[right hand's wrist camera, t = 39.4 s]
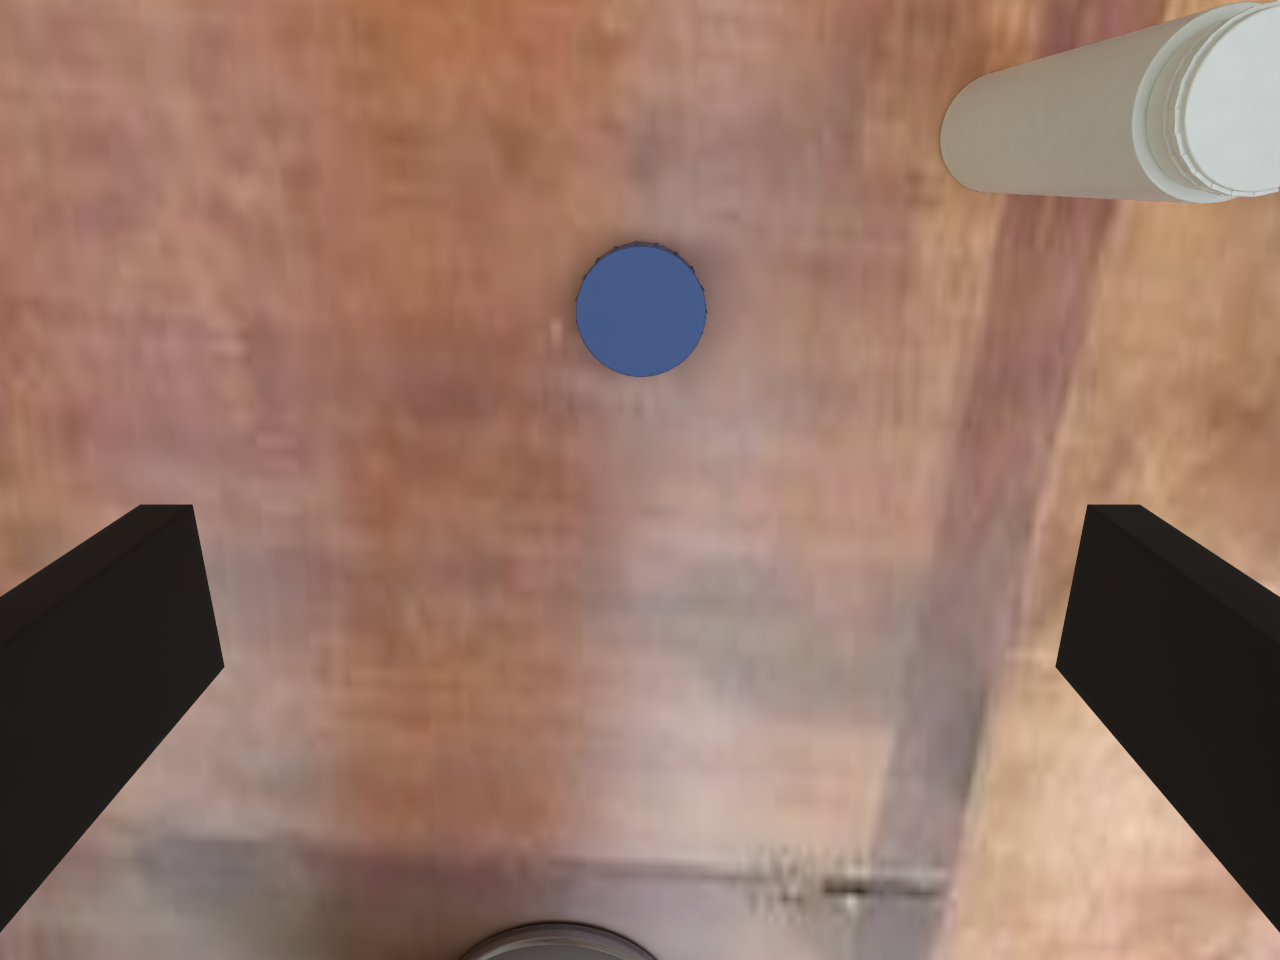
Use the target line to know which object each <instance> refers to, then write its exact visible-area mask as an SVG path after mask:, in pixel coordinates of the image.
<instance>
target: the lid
mask: <svg viewBox="0 0 1280 960" xmlns="http://www.w3.org/2000/svg"><path fill="white" fill-rule="evenodd" d="M694 272H695V271H694V269H693V267H692V266H691V267H690V266H689V265H688V264H687V263H686V262H685V261H684V260H683V259H682V258H681V257H680V256H679V254H678V252H675V253H674V252H673V251H671V250H669V249H667V248H665V247H662V246H659V243H656V244H651V243H637V241H635V243H631V244H626V245H622V246H620V247H616V246H615V247H614V249H613V250H611V251H609V252H608V253H606V254H605V255H604V256H602V257H601V258H600V259H599V258H597V259H596V261H595V264H594V265H593V266H592V268H591V269H590V270H589V272H588V274H587V275H584V277H583V279H582V281H583V283H582V286H581V288H580V291H579V294H578V296H577V298H576V302H577V305H576V317H577V320H576V323H577V325H578V328H579V332H580V335H581V337H582V340H583V342H584V343H585V345H586V347H587V348H588V350H589V351H590V352H591V354H592V355H593V356H594V357H595V358H596V359H597V360H598V361H599V362H601V363H602V364H603V365H605V366H606V367H608V368H610V369H611V370H613V371H616V372H618V373H621V374H624V375H629V376H635V377H646V376H653V375H658V374H661V373H664V372H666V371H669V370H671V369H672V368H674V367H676V366H677V365H679V364H680V363H682V362H683V361H684V360H685V359H686V358H687V357H688V356H689V355H690V354H691V353H692V351H693V350H694V348H695V347H696V345H697V344H698V342H699V339H700V337H701V335H702V334H703V329H704V324H705V319H706V313H707V310H706V305H705V298H704V294H703V292H704V289H703V287H702V285H700V283H699V281H698V279H697V277H696V275H695V274H694Z"/></svg>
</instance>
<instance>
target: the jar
mask: <svg viewBox="0 0 1280 960" xmlns="http://www.w3.org/2000/svg"><path fill="white" fill-rule="evenodd" d="M940 148H941V154H942V157H943V161H944V163H945V165H946V167H947V169H948V171H949V172H950V174H951V175H952V176H953V177H954V178H955V179H956V180H957V181H958V182H959V183H960V184H962V185H963V186H965V187H967V188H969V189H971V190H975V191H978V192H985V193H1004V194H1023V195H1043V196H1062V197H1082V198H1101V199H1121V200H1140V201H1160V202H1179V203H1199V204H1201V203H1217V202H1223V201H1227V200H1230V199H1234V198H1237V197H1239V196H1242V197H1243V196H1244V197H1257V196H1261V195H1266V194H1270V193H1275V192H1278V187H1280V0H1278V1H1274V2H1270V3H1265V4H1264V3H1257V2H1238V3H1232V4H1227V5H1223V6H1220V7H1216V8H1213V9H1209V10H1206V11H1203V12H1199V13H1196V14H1192V15H1189V16H1185V17H1182V18H1178V19H1175V20H1172V21H1168V22H1165V23H1161V24H1158V25H1154V26H1151V27H1147V28H1144V29H1141V30H1137V31H1134V32H1130V33H1127V34H1123V35H1120V36H1116V37H1113V38H1110V39H1106V40H1103V41H1099V42H1096V43H1092V44H1089V45H1085V46H1082V47H1079V48H1075V49H1072V50H1068V51H1065V52H1061V53H1058V54H1054V55H1051V56H1048V57H1044V58H1041V59H1037V60H1034V61H1030V62H1027V63H1023V64H1020V65H1017V66H1013V67H1010V68H1006V69H1003V70H999V71H996V72H992V73H989V74H986V75H983V76H981V77H979V78H977V79H975V80H974V81H972V82H971V83H969V84H968V85H967V86H966V87H964V88H963V89H962V90H961V91H960V92H959V93H958V95H957V96H956V97H955V98H954V100H953V101H952V103H951V104H950V106H949V108H948V110H947V112H946V114H945V117H944V120H943V123H942V127H941V134H940Z"/></svg>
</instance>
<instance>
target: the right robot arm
mask: <svg viewBox="0 0 1280 960" xmlns="http://www.w3.org/2000/svg"><path fill="white" fill-rule="evenodd" d="M223 668H224V662H223V657H222V652H221V647H220V642H219V636H218V631H217V626H216V621H215V616H214V611H213V606H212V601H211V596H210V591H209V586H208V581H207V576H206V571H205V566H204V560H203V555H202V550H201V545H200V540H199V535H198V530H197V525H196V520H195V515H194V510H193V505H139V506H137V507H136V508H134V509H133V510H131V511H130V512H128V513H127V514H125V515H124V516H122V517H121V518H119V519H118V520H116V521H115V522H113V523H112V524H110V525H109V526H107V527H106V528H104V529H103V530H101V531H100V532H98V533H97V534H95V535H94V536H92V537H90V538H89V539H87V540H86V541H84V542H83V543H81V544H80V545H78V546H77V547H75V548H74V549H72V550H71V551H69V552H68V553H66V554H65V555H63V556H62V557H60V558H59V559H57V560H56V561H54V562H53V563H51V564H50V565H48V566H47V567H45V568H44V569H42V570H40V571H39V572H37V573H36V574H34V575H33V576H31V577H30V578H28V579H27V580H25V581H24V582H22V583H21V584H19V585H18V586H16V587H15V588H13V589H12V590H10V591H9V592H7V593H6V594H4V595H3V596H1V597H0V932H1V931H2V930H3V929H4V927H5V926H6V925H7V924H8V923H9V921H10V920H11V919H12V918H13V917H14V916H15V914H16V913H17V912H18V911H19V910H20V908H21V907H22V906H23V905H24V904H25V903H26V901H27V900H28V899H29V898H30V897H31V895H32V894H33V893H34V892H35V891H36V890H37V888H38V887H39V886H40V885H41V884H42V882H43V881H44V880H45V879H46V878H47V876H48V875H49V874H50V873H51V872H52V871H53V869H54V868H55V867H56V866H57V865H58V863H59V862H60V861H61V860H62V859H63V858H64V856H65V855H66V854H67V853H68V852H69V850H70V849H71V848H72V847H73V846H74V845H75V843H76V842H77V841H78V840H79V839H80V837H81V836H82V835H83V834H84V833H85V831H86V830H87V829H88V828H89V827H90V826H91V824H92V823H93V822H94V821H95V820H96V818H97V817H98V816H99V815H100V814H101V813H102V811H103V810H104V809H105V808H106V807H107V805H108V804H109V803H110V802H111V801H112V800H113V798H114V797H115V796H116V795H117V794H118V792H119V791H120V790H121V789H122V788H123V786H124V785H125V784H126V783H127V782H128V781H129V779H130V778H131V777H132V776H133V775H134V773H135V772H136V771H137V770H138V769H139V768H140V766H141V765H142V764H143V763H144V762H145V760H146V759H147V758H148V757H149V756H150V755H151V753H152V752H153V751H154V750H155V749H156V747H157V746H158V745H159V744H160V743H161V741H162V740H163V739H164V738H165V737H166V736H167V734H168V733H169V732H170V731H171V730H172V728H173V727H174V726H175V725H176V724H177V723H178V721H179V720H180V719H181V718H182V717H183V715H184V714H185V713H186V712H187V711H188V710H189V708H190V707H191V706H192V705H193V704H194V702H195V701H196V700H197V699H198V698H199V696H200V695H201V694H202V693H203V692H204V691H205V689H206V688H207V687H208V686H209V685H210V683H211V682H212V681H213V680H214V679H215V678H216V676H217V675H218V674H219V673H220V672H221V670H222V669H223ZM1056 668H1057V669H1058V670H1059V672H1060V673H1061V674H1062V675H1063V676H1064V678H1065V679H1066V680H1067V681H1068V682H1069V683H1070V685H1071V686H1072V687H1073V688H1074V689H1075V691H1076V692H1077V693H1078V694H1079V695H1080V696H1081V698H1082V699H1083V700H1084V701H1085V702H1086V704H1087V705H1088V706H1089V707H1090V708H1091V710H1092V711H1093V712H1094V713H1095V714H1096V715H1097V717H1098V718H1099V719H1100V720H1101V721H1102V723H1103V724H1104V725H1105V726H1106V727H1107V728H1108V730H1109V731H1110V732H1111V733H1112V734H1113V736H1114V737H1115V738H1116V739H1117V740H1118V741H1119V743H1120V744H1121V745H1122V746H1123V747H1124V749H1125V750H1126V751H1127V752H1128V753H1129V755H1130V756H1131V757H1132V758H1133V759H1134V760H1135V762H1136V763H1137V764H1138V765H1139V766H1140V768H1141V769H1142V770H1143V771H1144V772H1145V773H1146V775H1147V776H1148V777H1149V778H1150V779H1151V781H1152V782H1153V783H1154V784H1155V785H1156V786H1157V788H1158V789H1159V790H1160V791H1161V792H1162V794H1163V795H1164V796H1165V797H1166V798H1167V800H1168V801H1169V802H1170V803H1171V804H1172V805H1173V807H1174V808H1175V809H1176V810H1177V811H1178V813H1179V814H1180V815H1181V816H1182V817H1183V818H1184V820H1185V821H1186V822H1187V823H1188V824H1189V826H1190V827H1191V828H1192V829H1193V830H1194V831H1195V833H1196V834H1197V835H1198V836H1199V837H1200V839H1201V840H1202V841H1203V842H1204V843H1205V845H1206V846H1207V847H1208V848H1209V849H1210V850H1211V852H1212V853H1213V854H1214V855H1215V856H1216V858H1217V859H1218V860H1219V861H1220V862H1221V863H1222V865H1223V866H1224V867H1225V868H1226V869H1227V871H1228V872H1229V873H1230V874H1231V875H1232V876H1233V878H1234V879H1235V880H1236V881H1237V882H1238V884H1239V885H1240V886H1241V887H1242V888H1243V890H1244V891H1245V892H1246V893H1247V894H1248V895H1249V897H1250V898H1251V899H1252V900H1253V901H1254V903H1255V904H1256V905H1257V906H1258V907H1259V908H1260V910H1261V911H1262V912H1263V913H1264V914H1265V916H1266V917H1267V918H1268V919H1269V920H1270V921H1271V923H1272V924H1273V925H1274V926H1275V927H1276V929H1277V930H1278V931H1279V932H1280V597H1279V596H1277V595H1276V594H1274V593H1273V592H1271V591H1270V590H1268V589H1267V588H1265V587H1264V586H1262V585H1261V584H1259V583H1258V582H1256V581H1255V580H1253V579H1252V578H1250V577H1249V576H1247V575H1246V574H1244V573H1243V572H1241V571H1240V570H1238V569H1236V568H1235V567H1233V566H1232V565H1230V564H1229V563H1227V562H1226V561H1224V560H1223V559H1221V558H1220V557H1218V556H1217V555H1215V554H1214V553H1212V552H1211V551H1209V550H1208V549H1206V548H1205V547H1203V546H1202V545H1200V544H1199V543H1197V542H1196V541H1194V540H1193V539H1191V538H1190V537H1188V536H1186V535H1185V534H1183V533H1182V532H1180V531H1179V530H1177V529H1176V528H1174V527H1173V526H1171V525H1170V524H1168V523H1167V522H1165V521H1164V520H1162V519H1161V518H1159V517H1158V516H1156V515H1155V514H1153V513H1152V512H1150V511H1149V510H1147V509H1146V508H1144V507H1143V506H1141V505H1087V510H1086V515H1085V520H1084V525H1083V530H1082V535H1081V540H1080V545H1079V550H1078V555H1077V560H1076V565H1075V571H1074V576H1073V581H1072V586H1071V591H1070V596H1069V601H1068V606H1067V611H1066V616H1065V621H1064V626H1063V631H1062V636H1061V642H1060V647H1059V652H1058V657H1057V662H1056ZM460 960H654V959H653V958H652V957H651V956H650V955H649V954H647V953H646V952H645V951H644V950H642V949H641V948H639V947H638V946H636V945H635V944H633V943H631V942H629V941H627V940H625V939H623V938H621V937H619V936H616V935H614V934H611V933H608V932H605V931H602V930H599V929H595V928H591V927H585V926H580V925H570V924H541V925H532V926H526V927H521V928H517V929H513V930H510V931H507V932H504V933H501V934H499V935H496V936H494V937H492V938H490V939H488V940H486V941H484V942H482V943H481V944H479V945H477V946H476V947H474V948H473V949H472V950H470V951H469V952H468V953H467V954H466V955H464V956H463V957H462V958H461V959H460Z"/></svg>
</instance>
